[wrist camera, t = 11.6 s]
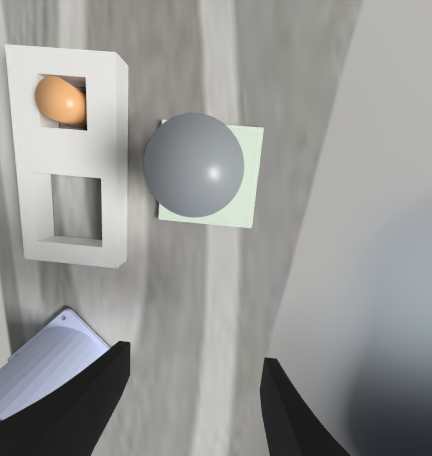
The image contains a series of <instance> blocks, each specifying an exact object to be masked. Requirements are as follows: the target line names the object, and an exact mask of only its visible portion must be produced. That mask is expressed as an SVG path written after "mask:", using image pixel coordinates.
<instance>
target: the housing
mask: <svg viewBox="0 0 432 456" xmlns="http://www.w3.org/2000/svg"><path fill="white" fill-rule="evenodd" d="M5 51H6V62H7V73H8V84H9V95H10V106H11V117H12V128H13V139H14V150H15V161H16V172H17V183H18V194H19V205H20V216H21V227H22V238H23V249H24V259H30V260H40V261H49V262H59V263H69V264H79V265H88V266H98V267H108V268H118V267H119V266H120V265H122V264H123V263H124V262H126V261H127V186H128V65H127V64H126V63H125V62H124V61H123V60H122V59H121V57H120V56H119V55H118V54H117V53H116V52H106V51H92V50H78V49H64V48H50V47H35V46H21V45H7V44H5ZM48 76H56V77H59V78H61V79H63V80H64V81H66V82H68V83H69V84H71V85H73V86H80V87H86V101H87V131H85V130H73V129H61V128H59V122H58V121H56V120H53V119H50V118H48V117H46V116H45V115H44V114H43V113H42V112H41V111H40V110H39V108H38V106H37V104H36V100H35V90H36V87H37V85H38V83H39V82H40V81H41V80H42V79H43V78H45V77H48ZM51 174H58V175H69V176H80V177H91V178H101V193H102V240H96V239H86V238H75V237H65V236H55V235H54V221H53V205H52V188H51Z"/></svg>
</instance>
